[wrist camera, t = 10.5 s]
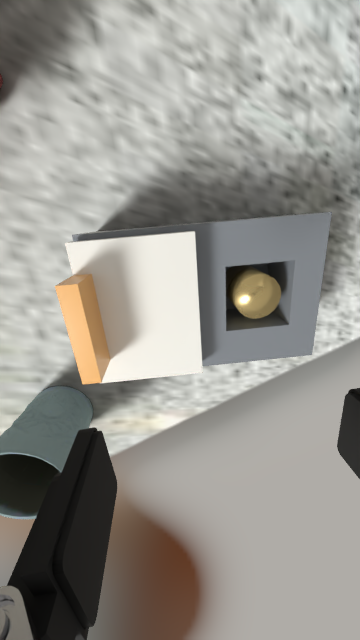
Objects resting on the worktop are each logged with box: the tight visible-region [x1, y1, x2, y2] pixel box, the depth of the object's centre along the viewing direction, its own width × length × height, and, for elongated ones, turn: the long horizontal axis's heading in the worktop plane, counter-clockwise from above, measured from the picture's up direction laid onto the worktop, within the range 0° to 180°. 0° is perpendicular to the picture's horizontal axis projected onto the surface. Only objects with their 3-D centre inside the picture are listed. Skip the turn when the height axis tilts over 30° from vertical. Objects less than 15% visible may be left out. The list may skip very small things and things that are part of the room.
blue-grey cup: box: [0, 386, 93, 519], centre depth 31 cm, size 10×10×12 cm
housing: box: [72, 212, 332, 366], centre depth 27 cm, size 22×14×8 cm, turn 95°
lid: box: [55, 231, 203, 384], centre depth 20 cm, size 10×13×5 cm
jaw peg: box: [226, 265, 281, 319], centre depth 26 cm, size 4×4×6 cm
